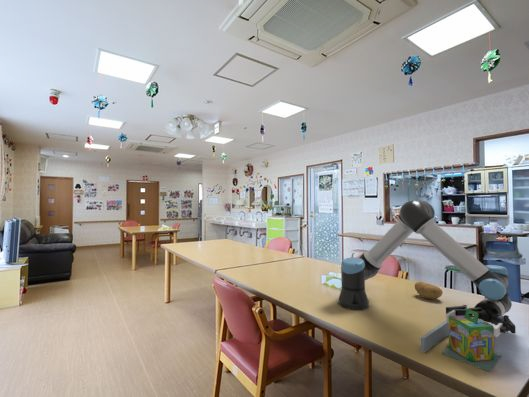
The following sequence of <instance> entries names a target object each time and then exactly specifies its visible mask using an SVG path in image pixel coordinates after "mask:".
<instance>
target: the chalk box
mask: <svg viewBox="0 0 529 397" xmlns="http://www.w3.org/2000/svg"><path fill="white" fill-rule="evenodd" d="M470 313H471V314H473V316H472V315H469V314H470ZM478 317H479V314H478V313H477V312H474V311H472V310H470V309H466V313H465V315H462V316H449V335H448V347H449V348H451V349H452V350H454V351H455V352H457V353H458V354H460V355H461V356H463V357H464V358H465V359H467V360H468V361H470V362H474V361H486V360H494V354H495V339H494V338H495V337H494V324H491V323H489V322H485V321H483V320H481V319H479V318H478Z"/></svg>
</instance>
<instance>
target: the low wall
mask: <svg viewBox="0 0 529 397" xmlns="http://www.w3.org/2000/svg"><path fill="white" fill-rule="evenodd" d="M447 336H449V323H448V322H446V320H444V321H442V322H441V323H440V324H438V325H437V326H435V327H434V328H432V329H431V330H429V331H427V332H426V333H424V334H423V335H421V336H420V352H421V351H422V353H424V354H425V353H427V350H428V351H429V350H430V349H432V348H433V347H435V344H436V345H437V344H438V343H440V342H441V341H442V340H443V339H445V338H446V337H447Z"/></svg>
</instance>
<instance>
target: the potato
mask: <svg viewBox="0 0 529 397" xmlns="http://www.w3.org/2000/svg"><path fill="white" fill-rule="evenodd" d="M414 290H415V291H416V292H417V294H418V295H420V296H421V297H422V298H424V299H427V300H428V299H429V300H437V299H439V298H440V297H442V296H443V293H444V292H443V290H442V289H441V288H440V286H437V285H433V284H430V283H428V282H423V281H418V282H416V283H414Z"/></svg>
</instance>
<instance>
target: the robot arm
mask: <svg viewBox="0 0 529 397" xmlns="http://www.w3.org/2000/svg"><path fill="white" fill-rule="evenodd" d="M435 215H436V212H435V208H434V206H433V205H432V204H431V203H429V202H428V201H425V200H424V199H422V200H421V199H420V200H419V199H418V200H409V201H407V202H405V203H403V204H402V205H401V207H400V209H399V215H398V216H397V221H396V222H395V224H393V225H392V226H391V227H390V229H389V230H388V231H387V232H386V233H385V234H383V236H382V237H381V238H380V239H379V240H378V241H377V242H376V243H375V245H374V246H372V248H371V249H370V250H368V251H363V253H362V254H361V255H360V256H358V257H346V258H344V259H342V261H341V262H340V263H341V266H340V272H341V276H340V277H341V290H340V293H339V296H338V306H340V307H342V308H345V309H348V310H355V311H361V310H366V309H368V308H369V307H370V301H369V299H368V295H367V293H366V281H367V280H369V279H371V278H373V277H375V276H376V275H377V274H378V273H379V272H380V271H379V270H381V269H382V267H383V262H385V261H386V259H388V257H389V256H390V255H391V254H393V252H395V250H396V249H397V248H398V247H400V246H401V244H403V243H404V242H405V241H406V240H407V239H408V238H409V237H410V236H411V235H412V233H413V234H414V233H415V234H419V235H421V236H422V237H423V238H424V239H425V240H426V241H427V242H429V243H430V244H431V245H432V246H433V247H434V248H435V250H437V251H438V252H440V254H442V256H444V257H445V258H446V259H447V260H448V261H449V262H450V263H451V264H453V265H454V267H455V268H457V269H458V270H459V271H460V272H461V273H462V274H463V275H464V276H466V277H467V278H468V279H469V281H471V282H472V283H473V284H474V285H475V286H476V287H477V288H478V291H479V292H480V293H481V294H480V295H482V296H483V298H484V299H482V300H481V301H479V302H478V303H476V304H475V306H474V307H468V305H467V304H462V305H455V306H446V307H445V321H446V322H448V323H449V316H462V315H465V313H466V309H470V310H472V311H474V312H477V313H478V314H479V317H478V318H479V319H481V320H483V321H485V322H487V323H489V324H491V325H495V327H494V326H493V327H494V338H498V337H499V336H500V335H501V334H506V333H508V332H509V333H512V334H516V333H517V332H516V331H517V330H516V325H515V324H514V322H513V321H512V320H511V319H510V318H509V315H505V314H507V313H508V312H509V311H510V310H511V308H512V306H513V304H512V303H513V302H512V301H511V300H512V299H510V296H509V295H510V294H509V272H508V269H507V267H505V266H501V265H495V264H487V265H485V264H483V263H482V262H481V261H479V259H477V258H476V257H475V256H474V255H473V254H472V253H471V252H469V250H467V249H466V248H464V246H462V244H460V243H459V242H458V241H457V240H455V239H454V238H453V237H452V236H451V235H450V234H449V233H447V231H445V230H444V229H443V228H442V227H441V226H439V225H438V224H437V223H436V222H435ZM469 315H472V316H474V315H473V314H471V313H470V314H469Z"/></svg>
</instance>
